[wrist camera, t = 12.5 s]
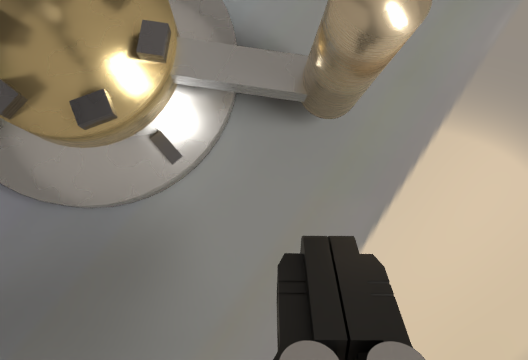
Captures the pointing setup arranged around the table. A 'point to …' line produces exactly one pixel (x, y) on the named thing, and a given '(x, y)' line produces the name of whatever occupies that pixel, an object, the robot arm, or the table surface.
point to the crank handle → (175, 63)
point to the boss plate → (133, 148)
